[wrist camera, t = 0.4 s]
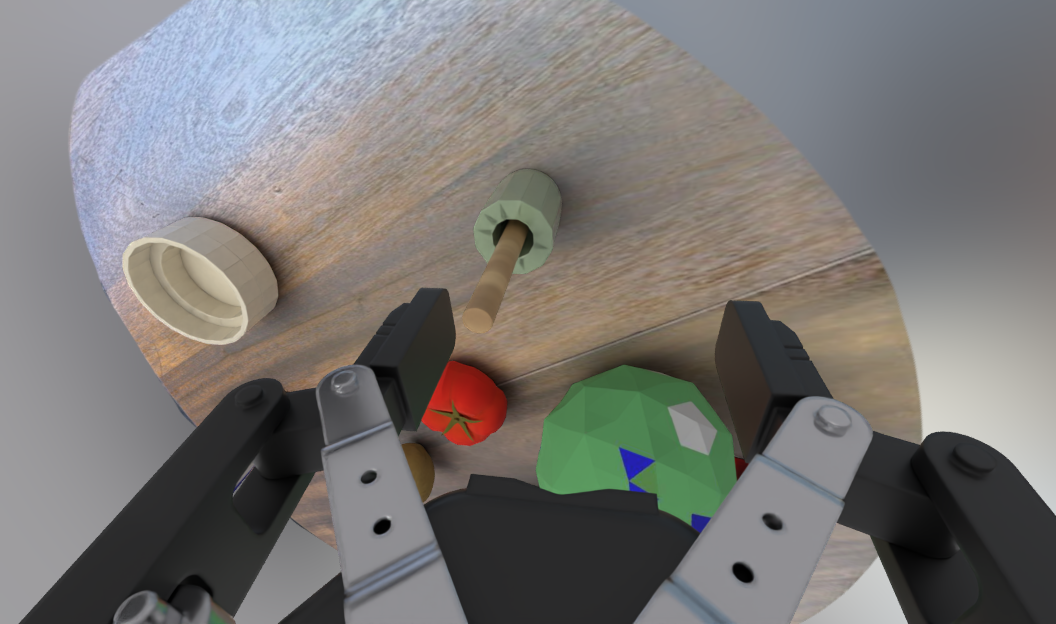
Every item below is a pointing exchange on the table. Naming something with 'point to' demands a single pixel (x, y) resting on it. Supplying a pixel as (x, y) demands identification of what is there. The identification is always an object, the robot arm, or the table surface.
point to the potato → (420, 468)
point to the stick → (495, 279)
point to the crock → (521, 217)
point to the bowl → (201, 279)
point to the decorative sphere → (639, 443)
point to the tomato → (465, 405)
